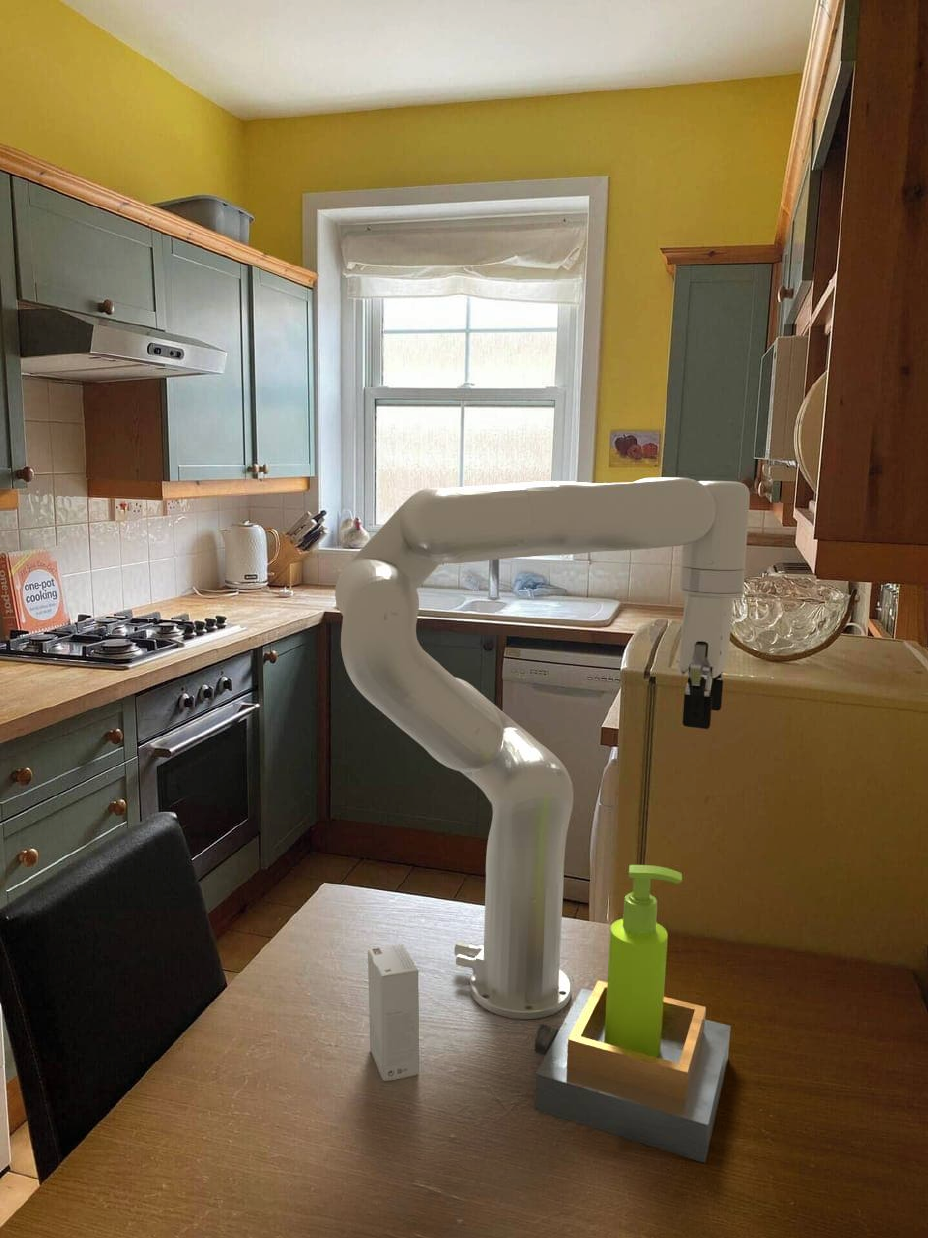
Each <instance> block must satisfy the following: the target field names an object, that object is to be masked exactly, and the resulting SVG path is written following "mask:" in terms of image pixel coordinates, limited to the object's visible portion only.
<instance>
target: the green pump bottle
mask: <svg viewBox="0 0 928 1238" xmlns="http://www.w3.org/2000/svg"><path fill="white" fill-rule="evenodd" d="M628 866H629V867H628V878H631V879H633V886H632V888H633V889H632V891H631V892H629V893H627V894H626V895H625V896H624V900H623V915H622V916H623V917H622V918H620V919H617V920H615V921H613V922H612V924H611V925H610V929H609V946H608V947H609V951H608V964H607V965H608V966H607V967H608V968H607V969H608V970H607V1001H606V1019H605V1037H604V1043H606V1044H610V1045H613V1046H617V1047H620V1048H624V1049H628V1050H631V1051H635V1052H639V1053H642V1054H646V1055H650V1056H653V1057H657V1056H658V1055H659V1053H660V1047H661V1031H662V1016H663V1001H664V997H665V982H666V970H667V969H666V968H667V967H666V966H667V955H668V940H669V939H668V936H669V935H668V930H666V928H665V926H663V925H661V924H659V923H658V922H657V915H658V914H657V913H658V899H657V898H656V897H655V896H654V895H652V894H651V893H650V891H651V880H658V881H659V880H660V881H665V882H666V881H667V882H670V883H673V884H677V885H679V884H681V883H682V882H683V874H682V872H679V871H677V870H674V869H671V868H669V867H663V866H659V865H650V864H648V865H647V864H629V865H628Z"/></svg>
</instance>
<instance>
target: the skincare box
mask: <svg viewBox="0 0 928 1238" xmlns="http://www.w3.org/2000/svg"><path fill="white" fill-rule="evenodd" d="M419 972H420V971H419V970H418V967H417V966H416V965H415V962H414V961H413V959H412V958H411V956H410V954H409V953H408V951H407V949H406V948H405V946H404V944H402V943H401V944H394V945H388V946H382V947H378V948H377V947H376V948H371V949H369V950H368V951H367V973H368V977H367V978H368V1009H369V1011H368V1017H369V1020H368V1021H369V1048H370V1052H371V1054H372V1057H373V1059H374V1062H375V1065H376V1067H377V1070H378V1072H379V1074H380V1077H381V1080H382V1081H383V1082H388V1081H395V1080H400V1079H405V1078H410V1077H414V1076H418V1075H419V1073H420V1009H419V1008H420V1007H419V1003H420V1002H419V1001H420V997H419V994H420V993H419Z"/></svg>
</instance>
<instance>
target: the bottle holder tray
mask: <svg viewBox="0 0 928 1238" xmlns="http://www.w3.org/2000/svg"><path fill="white" fill-rule="evenodd" d="M607 983H608V981H603V980H598V981H597V983H596V984H595V986H594V988H593V990H592V989H591V990H590V989H587V988H583V987H582V988H581V989H580V991H579V993H578V995H577V997H576V999H575V1001H574V1002H573V1004H572V1006H571V1008H570V1009H569V1011H568V1012H567V1013H568V1014H567V1015H566V1017H565V1019H564V1021H563V1023H562V1024H561V1026H560V1028H558V1027H554V1026H550V1025H546V1024H544V1023H541V1024H540V1025H539V1027H538V1028H537V1032H536V1036H535V1042H534V1052H535V1053H536V1054H538V1055H542V1056H544V1057H543V1059H542V1061H541V1063H540V1065H539V1067H538V1069H537V1071H536V1072H535V1084H534V1106H533V1107H534V1108H533V1110H535V1111H538V1112H541V1113H545V1114H548V1115H551V1116H554V1117H557V1118H561V1119H563V1120H566V1121H569V1122H572V1123H576V1124H580V1125H583V1126H586V1127H589V1128H592V1129H594V1130H598V1131H601V1132H605V1133H608V1134H611V1135H614V1136H617V1137H621V1138H623V1139H627V1140H629V1141H630V1140H631V1141H633V1142H636V1143H640V1144H642V1145H647V1146H649V1147H653V1148H656V1149H659V1150H662V1151H666V1152H668V1153H672V1154H675V1155H678V1156H681V1157H685V1158H688V1159H691V1160H694V1161H696V1162H701V1163H703V1164H706V1160H707V1158H708V1157H707V1156H708V1152H709V1147H710V1142H711V1138H712V1135H713V1134H712V1133H713V1129H714V1125H715V1120H716V1115H717V1109H718V1107H719V1101H720V1098H721V1097H720V1096H721V1092H722V1088H723V1083H724V1077H725V1073H726V1069H727V1064H728V1059H729V1048H730V1036H731V1025H729V1024H725V1023H720V1022H716V1021H713V1020H709V1019H706V1012H707V1011H706V1009H707V1007H706V1006H704V1005H699V1004H695V1003H691V1002H687V1001H683V1000H680V999H679V1000H678V999H676V998H670V997H667V996H664V1001H663V1016H662V1031H661V1047H660V1053H659V1055H658V1056H657V1057H653V1056H650V1055H646V1054H642V1053H639V1052H635V1051H631V1050H628V1049H624V1048H620V1047H617V1046H613V1045H610V1044H606V1043H604V1037H605V1019H606V1001H607Z"/></svg>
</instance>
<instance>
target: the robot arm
mask: <svg viewBox="0 0 928 1238" xmlns="http://www.w3.org/2000/svg"><path fill="white" fill-rule="evenodd" d="M750 493H751V492H750V490H749V488H748V486H747V485H746V484H745V483H742V482H739V481H734V480H733V481H730V480H728V481H727V480H699V481H697V480H695V479H693V478H689V477H676V476H675V477H671V476H670V477H669V476H668V477H667V476H666V477H661V476H659V477H645V478H644V477H643V478H641V479H637V480H635V481H633V482H632V481H631V482H611V483H609V482H608V483H607V482H604V483H598V482H594V483H592V482H578V481H577V482H576V481H569V480H568V481H566V480H565V481H563V480H562V481H561V480H555V481H554V480H550V481H549V480H547V481H545V480H544V481H543V480H542V481H532V482H529V481H528V482H518V483H506V484H505V483H503V484H492V485H489V484H488V485H476V486H475V485H474V486H461V487H460V486H459V487H447V488H446V487H445V488H444V487H430V488H429V487H427V488H423V489H421V490H418V491H417V492H415V493H413V494H412V495H411V496H410V497H409V498H407V499H406V500H405V501H404V502H403V504H402V505H401V506H399V508H398V509H397V510H396V511H395V512H394V514H392V515H391V517H390V518H389V519H388V520H386V522H385V523H384V524H383V525H382V526H381V527H380V529H379V530H378V531H377V532H376V533H375V534H374V535H373V536H372V537H371V538H370V539H369V540H368V542H367V543H366V544H364V545H363V547H362V548H361V549H360V550H359V551H358V552H356V554H355V556H353V558H352V559H350V561H349V562H348V563H347V564H346V565H345V567H344V568H343V569H342V570H341V572H340V574H339V576H338V578H337V581H336V584H335V589H334V590H335V591H334V597H335V603H336V606H337V608H338V611H339V612H340V613H341V615H342V624H341V634H340V648H341V656H342V660H343V663H344V667H345V670H346V673H347V675H348V677H349V678H350V680H351V682H352V684H353V686H355V688H356V690H357V691H358V692H359V693H360V694H361V695H362V696H363V697H364V698H365V699H366V700H367V701H368V702H369V703H370V704H372V705H373V706H375V708H376V709H378V710H379V711H380V713H382V714H384V716H386V717H387V718H388V719H389V720H390V721H392V722H393V723H394V724H395V725H396V726H397V727H398V728H399V729H400V730H402V731H403V732H404V733H405V734H407V735H408V736H409V737H411V739H413V740H414V741H415V742H417V743H418V744H419V745H420V746H421V747H422V748H423V749H424V750H425V751H427V753H428V754H429V755H430V756H431V757H432V759H434V760H436V761H437V762H438V763H439V764H441V765H443V766H444V767H446V768H449V769H450V770H451V769H452V770H454V771H457V772H460V773H462V774H463V776H465V777H466V778H468V779H469V780H470V781H472V782H473V783H474V784H475V785H476V786H477V787H478V788H479V789H480V790H481V791H482V793H484V794H485V796H486V798H487V799H488V800H489V802H490V804H491V807H492V819H491V824H490V829H489V833H488V839H487V843H486V844H487V846H486V857H485V897H484V898H485V899H484V902H485V903H484V924H483V925H484V927H483V928H484V930H483V932H484V933H483V943H480V944H479V945H476V944H473V943H472V942H467V941H463V940H459V939H458V940H457V941H456V943H455V945H454V952H453V953H454V956H456V958H455V959H456V960H455V964H456V966H459V967H463V968H469V969H472V971H473V972H472V973H471V976H470V980H469V981H470V983H469V988H470V990H469V991H470V994H471V996H472V998H473V999H474V1000H475V1002H476V1003H478V1004H479V1005H480V1007H482V1008H483V1009H486V1010H487V1011H489V1012H491V1013H493V1014H496V1015H498V1016H502V1017H504V1018H511V1019H516V1020H517V1019H518V1020H519V1019H520V1020H531V1019H532V1020H534V1019H535V1020H536V1019H540V1018H545V1017H549V1016H551V1015H554V1014H556V1013H558V1012H559V1011H561V1010H562V1009H563V1008H564V1007H566V1006H567V1004H568V1003H569V1001H570V999H571V996H572V995H571V994H572V984H571V980H570V979H569V977H568V976H567V974H566V973H565V972H564V971H563V970H562V969H560V968H561V967H560V961H561V946H562V945H561V944H562V943H561V942H562V941H561V940H562V920H563V918H562V917H563V901H564V900H563V899H564V880H565V879H564V878H565V877H564V871H565V857H566V856H565V852H566V844H567V836H568V829H569V824H570V820H571V816H572V811H573V805H574V786H573V782H572V779H571V776H570V774H569V772H568V770H567V768H566V767H565V765H564V764H563V762H562V761H561V760H560V759H559V758H558V757H557V755H555V754H554V753H553V752H552V751H551V750H549V749H548V748H547V747H546V746H544V745H543V744H542V743H541V742H540V741H538V740H537V739H536V738H535V737H533V735H531V734H530V733H529V732H528V731H527V730H525V729H524V728H523V727H522V726H520V725H519V724H518V723H517V722H515V721H514V720H513V719H512V718H511V717H510V716H509V715H507V714H506V712H503V710H501V709H500V708H499V707H498V706H497V705H496V704H494V703H493V702H492V701H491V700H489V698H487V697H485V695H484V694H482V693H481V692H480V691H479V690H478V689H477V688H476V687H474V685H472V684H470V683H469V682H468V681H466V680H464V679H463V678H459V677H455V676H454V675H453V674H451V673H450V672H449V671H448V670H446V668H444V667H443V666H442V665H441V664H440V663H439V661H437V660H436V659H434V658H433V657H432V656H431V655H430V654H429V653H428V652H427V651H425V650H424V649H423V647H422V646H421V645H420V642H419V640H418V637H417V622H418V616H419V610H420V597H419V593H418V588H420V586H421V585H422V584H423V583H424V582H425V581H426V580H427V579H428V578H429V577H430V576H431V575H432V573H434V571H435V570H436V569H437V568H438V566H439V565H440V564H464V563H466V564H467V563H476V562H485V561H492V560H493V561H495V560H496V561H497V560H505V559H506V560H507V559H508V560H509V559H516V558H530V557H531V558H532V557H543V556H557V555H559V556H565V555H566V556H567V555H568V556H569V555H570V556H571V555H579V554H580V555H581V554H589V553H599V552H617V551H618V552H619V551H620V552H621V551H637V550H649V549H650V550H651V549H659V548H669V547H670V548H671V547H680V546H682V549H681V562H680V564H681V567H680V580H679V593H680V594H682V595H686V597H685V603H684V607H683V616H682V623H681V633H680V643H679V644H680V645H679V652H678V653H679V655H678V662H677V673H679V674H680V676H681V675H682V676H684V675H685V674H686V673H687V681H686V685H685V693H684V694H683V695H684V696H683V697H684V699H683V711H682V725H683V726H684V727H686V728H687V727H689V728H696V729H703V730H708V729H710V727H711V718H712V711H716V712H717V711H720V710H721V709H722V704H723V703H722V702H723V700H722V699H723V687H724V680H723V671H724V669H725V668H726V667H727V662H728V658H729V657H728V656H729V649H730V640H731V630H732V629H731V628H732V617H733V616H732V615H733V599H734V598H742V597H743V596H744V582H745V570H746V569H745V567H746V555H747V543H748V542H747V541H748V528H749V517H750V516H749V515H750V514H749V513H750V502H751V496H750V495H751V494H750Z"/></svg>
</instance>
